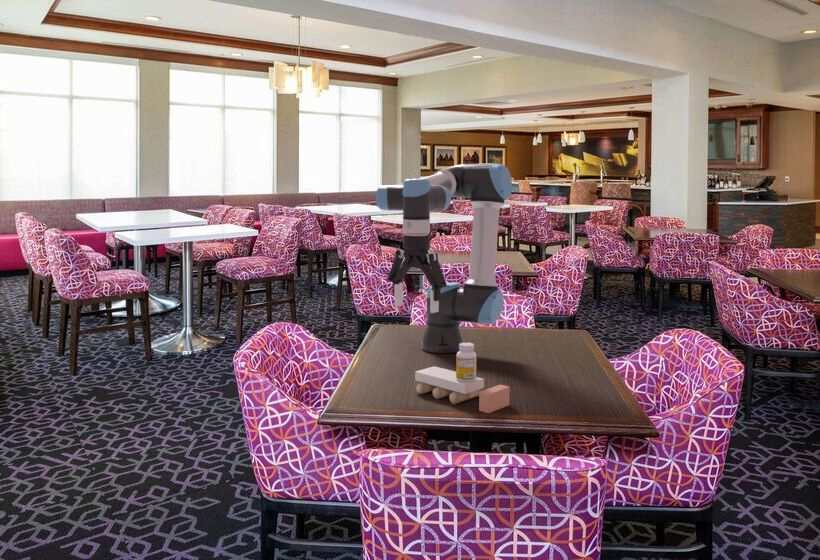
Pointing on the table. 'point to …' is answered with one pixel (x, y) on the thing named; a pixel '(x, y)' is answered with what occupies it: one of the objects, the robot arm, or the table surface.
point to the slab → (447, 380)
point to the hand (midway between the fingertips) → (416, 309)
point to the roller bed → (446, 393)
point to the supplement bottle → (466, 363)
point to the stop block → (494, 398)
